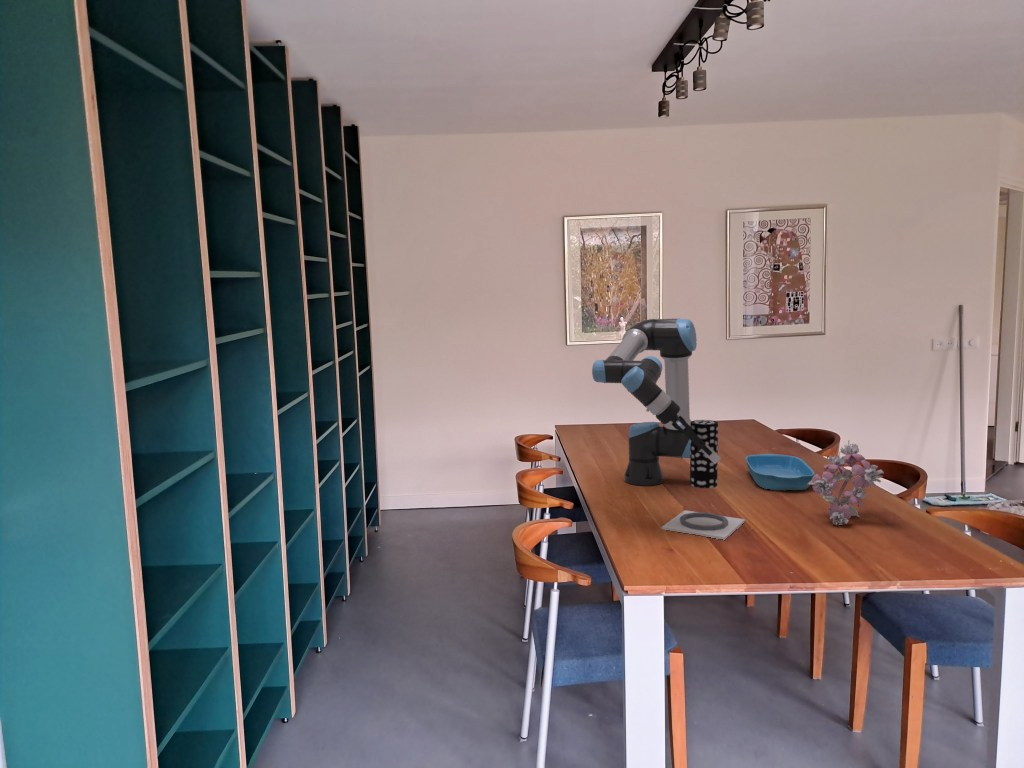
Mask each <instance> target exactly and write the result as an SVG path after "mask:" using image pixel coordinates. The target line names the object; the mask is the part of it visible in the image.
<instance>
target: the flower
mask: <svg viewBox="0 0 1024 768" xmlns="http://www.w3.org/2000/svg"><path fill="white" fill-rule="evenodd" d="M843 446H844V447H843ZM843 446H841V447H840V449H839V450H840V452H839V453H838V455H835V454H834V456H832V455H831V454H830V455H829V457H828V462H829V463H828V464H827V463H826V464H825V465H824V466H823V472H822V475H821V476H820V475H819V474H818V473H816V474H815V475H814V477H813V478H812V480H811V481H810V482H809V483H808V484H807V485H812V489H813V491H814V492H815V493H816V494H817V495H819V494H820V496H821V498H823V499H824V500H825V501H826V502H827V503H829V504H830V505H829V507H828V508H827V514H828V515H829V519H830V520H832V525H833V524H834V525H835V526H839V525H842V526H843V523H844V524H845V525H846V524H848V522H849V521H850V520H849V519H851V517H855V516H856V517H858V518H859V517H860V518H861V516H860V515H859V513H858V510H857V509H856V508H855V506H853V505H856V504H857V503H858V505H857V507H858V508H861V507H862V506H863V504H864V503H863V500H862V499H866V498H867V491H865V489H867V488H869V486H872V487H873V486H874V487H876V486H877V484H876V483H875V482H878V483H882V481H881V478H883V477H884V475H881V474H885V472H884V471H883V470H882V469H879V470H877V469H878V468H879V466H878V465H875V464H871V463H870V462H869V461H867V460H866V458H865V456H863V455H862V454H860V448H859V444H857V443H852V444H851V443H850V440H848V441H847V444H844V445H843ZM841 454H843V455H844V456H840V455H841ZM857 462H859V463H860V464H861V465H860V464H857ZM845 464H847V466H849V467H850V468H851V469H846V467H844V465H845ZM838 470H839V472H837V471H838ZM836 472H837V473H836ZM835 473H836V474H835ZM854 476H857V477H856V478H853V477H854ZM852 478H853V479H852ZM851 479H852V480H851ZM839 481H844V482H843V484H842V485H841V487H840V490H839V491H838V494H837V496H835V495H833V493H834V492H832V491H831V490H833V491H834V490H838V489H839ZM850 481H851V483H852V484H853V488H852V489H850V490H846V491H844V490H845V489H846V487H847V484H848V483H849V482H850ZM843 492H844V493H843ZM841 495H843V496H842V497H841Z"/></svg>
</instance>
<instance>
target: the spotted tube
mask: <svg viewBox="0 0 1024 768" xmlns="http://www.w3.org/2000/svg"><path fill="white" fill-rule="evenodd" d="M690 427H691V430H692V431H693V432H694V433H695V434H696V435H697V436H698V437H699V438H700V439H701V440H702V441H703V442H705V443H706V444H707V445H708V446H709V447H710V448H711V449H712V450H713V451H714V452H715V453H716V454H718V455H719V453H718V452H719V451H718V450H719V449H718V448H719V422H718V421H716V420H712V419H711V420H710V419H709V420H708V419H696V420H695V419H694V420H691V426H690ZM697 449H698V447H697V446H696V445H695V444H694V443H693V442H692V441H691V440H690V458H689V463H690V464H689V466H690V467H689V485H690V486H691V487H694V488H698V489H713V488H716V487H718V463H719V461H718V462H717V463H716V464H714V463H713V462H712V461H711V460H710V459H709V458H708V457H707V456H706V455H705V454H704V453H703V452H702V451H701V450H700V451H698V450H697Z"/></svg>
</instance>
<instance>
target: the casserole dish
mask: <svg viewBox="0 0 1024 768" xmlns="http://www.w3.org/2000/svg"><path fill="white" fill-rule="evenodd" d="M745 461H746V465H747V469H748V471H749V474H750V476H751V477H752V479H753V481H754V482H755V483H756V485H758V487H760V488H761V487H762V488H761V489H763V488H764V490H767V489H770V490H769V491H786V490H801V491H805V490H807V489H808V488H809V487H810V485H807V484H808V483H809V482H810V481H811V480H812V478H813V477H814V475H816V474H815V471H814V470H813V469H812V467H811V466H809V465H808V463H807V462H806V461H805V460H804V459H802V458H800V457H798V456H793V455H786V454H777V453H760V454H749V455H747V456H745Z"/></svg>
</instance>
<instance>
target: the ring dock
mask: <svg viewBox="0 0 1024 768" xmlns="http://www.w3.org/2000/svg"><path fill="white" fill-rule="evenodd" d="M745 520H746V519H744V518H739V517H731V516H724V515H720V514H717V513H710V512H698V511H693V510H692V511H691V510H686V509H685V510H683V511H682V512H681V513H679V514H678V515H676V516H675V517H673V518H672V519H670V520H669V521H668V522H666V523H665V524H663V525H662V526H661V530H662V529H665V530H664V531H666V530H670V531H669V532H671V531H677V532H683V533H689V534H696V535H702V536H706V537H711V538H710V539H712V538H716V539H715V540H718V539H723V540H722V541H724V540H725V539H726V538H727V537H728V536H729V537H731V536H732V535H733V534H734V533H735V532H736V531H737V530H738V529H739V528H740V527H742V526H743V525H744V524H745V523H744V522H746V521H745ZM743 523H744V524H743ZM742 524H743V525H742ZM736 529H737V530H736ZM735 530H736V531H735ZM734 531H735V532H734ZM677 532H676V533H677ZM733 532H734V533H733ZM683 533H682V534H683ZM732 533H733V534H732ZM689 534H688V535H689ZM731 534H732V535H731ZM730 535H731V536H730ZM706 537H705V538H706ZM729 537H728V538H729ZM728 538H727V539H728ZM727 539H726V540H727ZM726 540H725V541H726Z"/></svg>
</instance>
